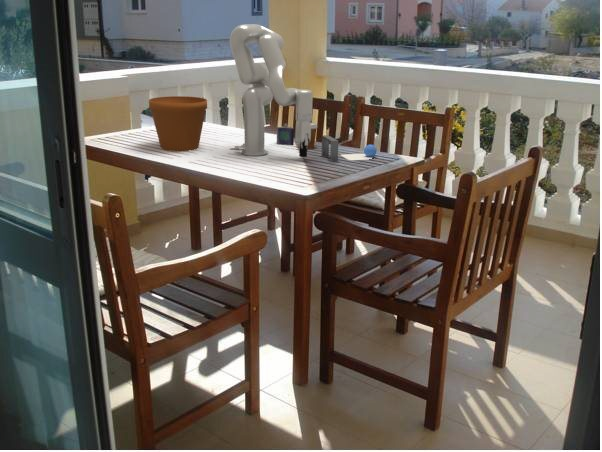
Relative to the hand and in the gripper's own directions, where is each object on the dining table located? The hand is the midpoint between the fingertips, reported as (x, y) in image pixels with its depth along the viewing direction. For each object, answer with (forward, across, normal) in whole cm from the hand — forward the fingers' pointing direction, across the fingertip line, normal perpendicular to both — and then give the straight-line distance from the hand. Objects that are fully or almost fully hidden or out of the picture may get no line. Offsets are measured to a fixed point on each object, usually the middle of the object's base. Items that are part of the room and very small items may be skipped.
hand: (303, 156), depth 323 cm
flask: (+2, -38, +2) cm, 38 cm away
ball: (-2, +1, +33) cm, 33 cm away
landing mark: (+2, 0, +27) cm, 27 cm away
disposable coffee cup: (+2, -28, +11) cm, 30 cm away
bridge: (+2, 0, +13) cm, 13 cm away
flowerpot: (+2, -40, -52) cm, 66 cm away
